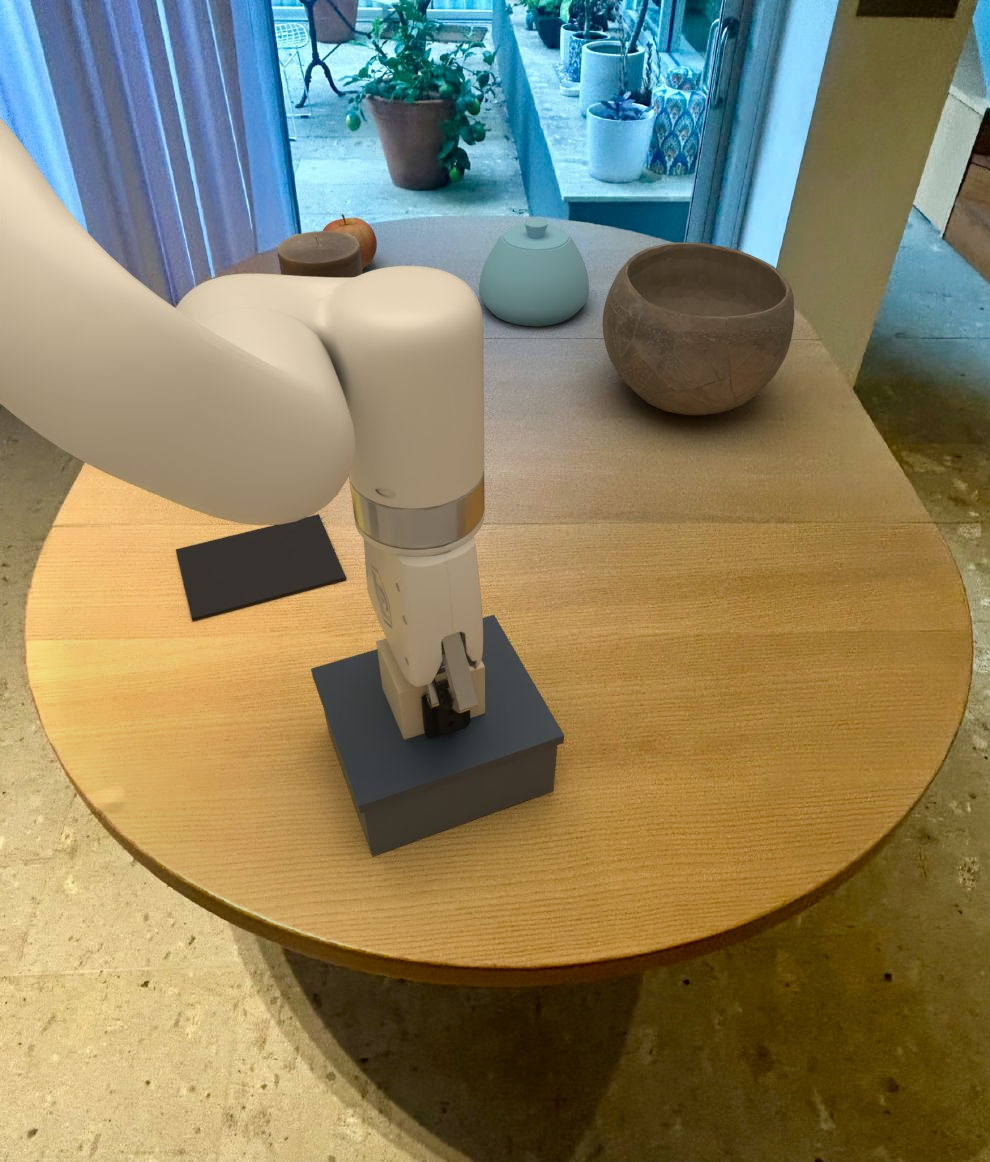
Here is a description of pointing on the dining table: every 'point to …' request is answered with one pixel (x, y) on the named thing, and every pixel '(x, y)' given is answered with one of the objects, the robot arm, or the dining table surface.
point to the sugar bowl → (534, 275)
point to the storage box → (438, 748)
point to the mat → (257, 566)
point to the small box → (416, 692)
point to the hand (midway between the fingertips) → (432, 696)
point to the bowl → (697, 326)
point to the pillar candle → (320, 255)
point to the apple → (357, 236)
